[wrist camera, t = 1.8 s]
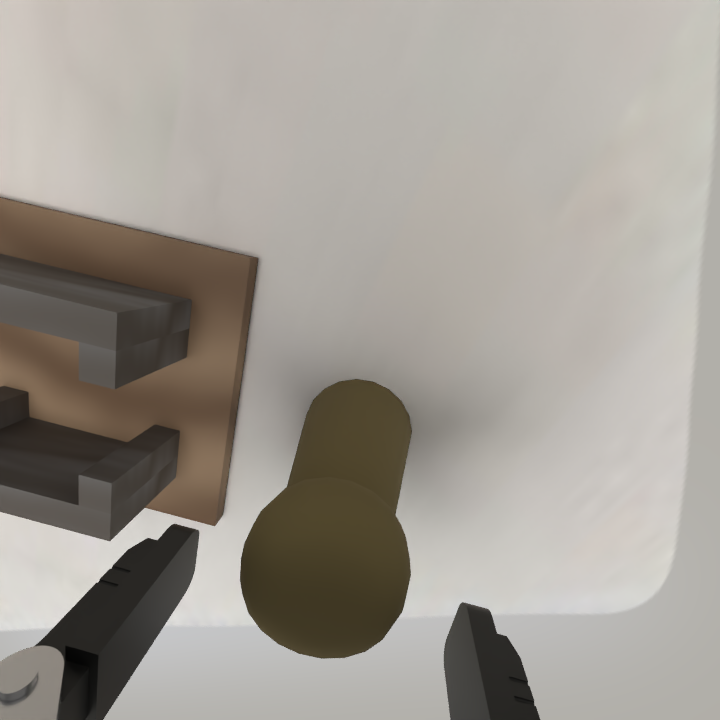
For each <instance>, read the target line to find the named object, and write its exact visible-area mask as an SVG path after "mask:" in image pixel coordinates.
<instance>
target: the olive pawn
mask: <svg viewBox="0 0 720 720" xmlns="http://www.w3.org/2000/svg"><path fill="white" fill-rule="evenodd" d="M411 432H412V430H411V424H410V418H409V415H408V413H407V411H406V409H405V407H404V405H403V403H402V402H401V400H399V399H398V398H397V397H396V396H395V395H394V394H393V393H392V392H391V391H390V390H389V389H387V388H385V387H383V386H381V385H379V384H377V383H374V382H370V381H364V380H358V379H354V380H347V381H341V382H338V383H336V384H334V385H331V386H329V387H327V388H325V389H324V390H323V391H322V392H321V393H320V394H319V395H318V396H317V397H316V398H315V399H314V400H313V402H312V404H311V406H310V408H309V410H308V412H307V415H306V418H305V422H304V426H303V429H302V433H301V437H300V441H299V444H298V448H297V452H296V455H295V459H294V463H293V466H292V470H291V474H290V477H289V481H288V485H287V488H285V489H284V490H283V491H282V492H281V493H280V494H279V495H278V496H277V497H276V498H275V499H274V500H272V501H271V502H270V503H269V504H268V505H267V506H266V507H265V508H264V509H263V510H262V511H261V512H260V514H259V516H258V517H257V519H256V521H255V523H254V524H253V527H252V529H251V531H250V533H249V535H248V537H247V539H246V541H245V544H244V548H243V553H242V557H241V572H240V582H241V588H242V594H243V597H244V600H245V603H246V606H247V610H248V613H249V614H250V616H251V617H252V618H253V620H254V621H255V622H256V624H257V625H258V627H259V628H260V629H261V630H262V631H263V632H264V633H265V634H267V635H268V636H269V637H270V638H272V639H273V640H274V641H275V642H277V643H278V644H280V645H282V646H284V647H286V648H288V649H290V650H293V651H295V652H297V653H299V654H303V655H308V656H313V657H317V658H345V657H349V656H352V655H355V654H358V653H362V652H365V651H367V650H368V649H369V648H371V647H372V646H374V645H375V644H377V643H378V642H380V641H381V640H382V639H383V638H384V637H385V635H386V634H387V632H388V631H389V630H390V628H391V627H392V625H393V624H394V623H395V621H396V620H397V618H398V617H399V616H400V614H401V613H402V611H403V607H404V603H405V599H406V594H407V590H408V585H409V581H410V576H411V571H410V558H409V552H408V547H407V541H406V537H405V534H404V532H403V529H402V526H401V524H400V522H399V521H398V519H397V517H396V516H395V514H396V509H397V504H398V499H399V494H400V489H401V484H402V478H403V473H404V468H405V463H406V458H407V453H408V448H409V443H410V438H411Z"/></svg>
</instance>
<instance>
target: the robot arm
mask: <svg viewBox="0 0 720 720" xmlns="http://www.w3.org/2000/svg"><path fill="white" fill-rule="evenodd" d="M198 540H199V531H198V530H196V529H192V528H188V527H185V526H181V525H177V524H173V525H171V526H170V527H169V528H168V529H167V530H166V531H165V532H164V534H163V535H162V536H161V537H160V538H159V539H158V540H154V539H150V538H147V539H145V540H144V541H142V542H140V543H138V544H137V545H135V546H133V547H132V548H130V549H128V550H127V551H126V552H125V553H124V555H123V556H122V557H121V558H120V559H119V560H118V561H117V562H116V563H115V564H114V565H113V567H112V569H109V570H108V571H107V572H106V573H105V574H104V575H103V577H102V578H101V579H100V581H99V582H98V583H96V584H95V585H94V586H93V587H92V588H91V589H90V590H89V591H88V592H87V593H86V594H85V595H84V596H83V597H82V599H81V600H80V601H79V602H78V603H77V604H76V605H75V606H74V607H73V608H72V609H71V610H70V611H69V612H68V613H67V614H66V615H65V616H64V617H63V618H62V619H61V621H60V622H59V623H58V624H57V625H56V626H55V627H54V628H53V629H52V630H51V631H50V632H49V633H48V634H47V635H46V636H45V637H44V638H43V639H42V640H41V641H40V642H39V643H38V644H36V645H35V646H34V647H30V648H26V649H23V650H21V651H18V652H16V653H14V654H12V655H10V656H8V657H7V658H5V659H3V660H2V661H1V662H0V720H103V719H104V717H105V716H106V714H107V713H108V711H109V709H110V708H111V707H112V705H113V703H114V702H115V700H116V699H117V697H118V696H119V694H120V693H121V691H122V690H123V688H124V687H125V685H126V684H127V682H128V680H129V679H130V677H131V676H132V674H133V673H134V671H135V670H136V668H137V667H138V665H139V664H140V662H141V660H142V659H143V657H144V655H145V654H146V653H147V651H148V650H149V648H150V647H151V645H152V644H153V642H154V640H155V639H156V637H157V636H158V634H159V633H160V631H161V629H162V628H163V627H164V625H165V624H166V622H167V620H168V619H169V617H170V616H171V614H172V613H173V611H174V610H175V608H176V607H177V605H178V604H179V602H180V600H181V599H182V597H183V596H184V594H185V593H186V591H187V589H188V587H189V585H190V583H191V580H192V578H193V575H194V571H195V564H196V556H197V548H198ZM444 668H445V677H446V684H447V694H448V702H449V710H450V718H451V720H540V718H539V715H538V711H537V709H536V706H534V699H533V696H532V693H531V690H530V687H529V686H528V680H527V677H526V674H525V671H524V668H523V665H522V662H521V659H520V657H519V655H518V653H517V652H516V650H515V649H514V647H513V646H512V644H511V642H510V641H509V639H508V638H507V636H503V635H500V634H497V632H496V629H495V625H494V622H493V618H492V615H491V612H490V611H489V610H488V609H486V608H482V607H478V606H475V605H471V604H467V603H464V602H462V603H461V604H460V606H459V608H458V611H457V613H456V616H455V618H454V621H453V623H452V626H451V629H450V631H449V634H448V636H447V639H446V643H445V649H444Z"/></svg>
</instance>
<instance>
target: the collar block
mask: <svg viewBox="0 0 720 720" xmlns="http://www.w3.org/2000/svg"><path fill="white" fill-rule="evenodd" d="M257 263H258V258H255V257H251V256H247V255H243V254H238V253H234V252H230V251H226V250H221V249H217V248H213V247H209V246H205V245H200V244H196V243H192V242H188V241H183V240H179V239H175V238H171V237H166V236H162V235H158V234H154V233H150V232H145V231H141V230H137V229H133V228H128V227H124V226H120V225H116V224H111V223H107V222H103V221H99V220H94V219H90V218H86V217H82V216H78V215H73V214H69V213H65V212H61V211H56V210H52V209H48V208H44V207H39V206H35V205H31V204H27V203H23V202H18V201H14V200H10V199H6V198H1V197H0V512H3V513H7V514H11V515H14V516H18V517H22V518H26V519H29V520H33V521H37V522H40V523H44V524H48V525H52V526H55V527H59V528H63V529H66V530H70V531H74V532H78V533H81V534H85V535H89V536H92V537H96V538H100V539H104V540H107V541H111V540H112V539H113V538H114V537H115V536H116V535H117V534H118V533H119V532H120V531H121V530H122V529H123V528H124V527H125V526H126V525H127V524H128V523H129V522H130V521H131V520H132V519H133V518H134V517H135V516H136V515H137V514H139V513H140V512H141V511H142V510H143V509H144V508H148V509H152V510H156V511H160V512H163V513H167V514H171V515H175V516H179V517H182V518H186V519H190V520H194V521H197V522H201V523H205V524H209V525H213V526H215V525H216V524H217V523H218V521H219V520H220V518H221V517H222V515H223V509H224V502H225V495H226V488H227V480H228V473H229V466H230V459H231V451H232V444H233V437H234V430H235V423H236V415H237V408H238V401H239V394H240V386H241V379H242V372H243V365H244V357H245V350H246V343H247V336H248V328H249V321H250V314H251V307H252V299H253V292H254V285H255V278H256V270H257Z"/></svg>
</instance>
